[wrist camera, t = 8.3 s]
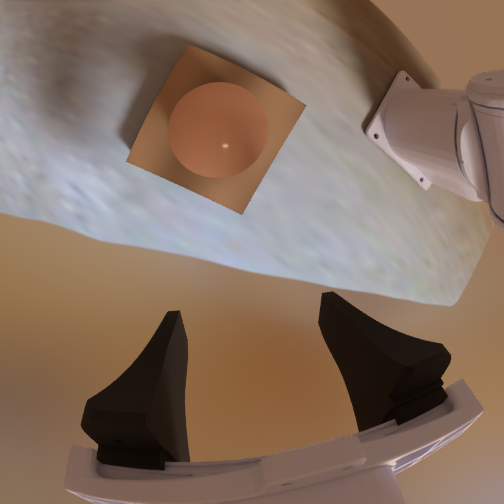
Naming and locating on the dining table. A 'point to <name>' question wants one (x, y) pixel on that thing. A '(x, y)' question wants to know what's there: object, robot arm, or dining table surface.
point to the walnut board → (174, 89)
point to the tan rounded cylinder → (218, 130)
